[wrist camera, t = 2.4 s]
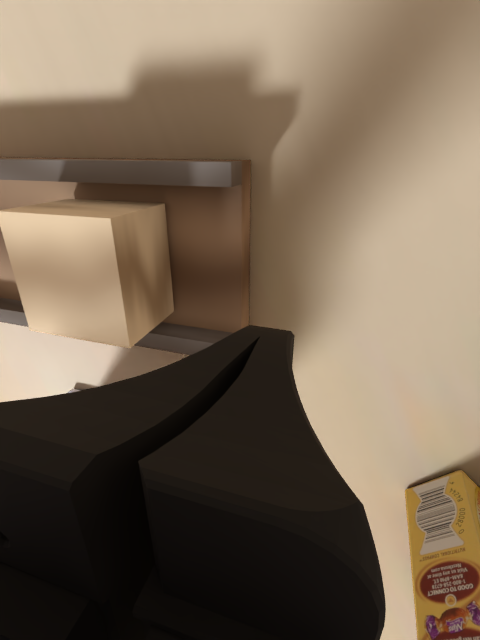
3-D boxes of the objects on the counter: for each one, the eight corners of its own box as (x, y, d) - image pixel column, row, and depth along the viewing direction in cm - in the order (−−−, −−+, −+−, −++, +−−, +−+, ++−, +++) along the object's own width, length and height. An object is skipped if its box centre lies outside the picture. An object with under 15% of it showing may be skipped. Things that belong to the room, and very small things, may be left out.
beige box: (174, 311, 21) (130, 348, 17) (87, 299, 23) (29, 330, 19) (164, 203, 18) (110, 218, 14) (68, 198, 20) (-5, 211, 16)
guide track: (248, 337, 22) (223, 377, 18) (-91, 285, 30) (-158, 305, 27) (250, 159, 18) (218, 163, 14) (-146, 155, 26) (-235, 157, 22)
